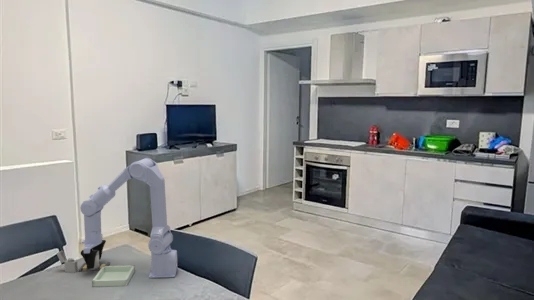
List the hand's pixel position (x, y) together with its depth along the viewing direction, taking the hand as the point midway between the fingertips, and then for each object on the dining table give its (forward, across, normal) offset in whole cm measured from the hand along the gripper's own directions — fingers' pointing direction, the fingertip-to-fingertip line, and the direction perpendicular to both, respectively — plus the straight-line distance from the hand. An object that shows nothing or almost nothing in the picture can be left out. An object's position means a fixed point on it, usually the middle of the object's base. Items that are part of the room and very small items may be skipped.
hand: (94, 263), depth 142 cm
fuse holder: (+2, 0, 0) cm, 2 cm away
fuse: (+2, 0, 0) cm, 2 cm away
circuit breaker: (+2, +2, -9) cm, 10 cm away
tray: (+2, +9, +10) cm, 14 cm away
